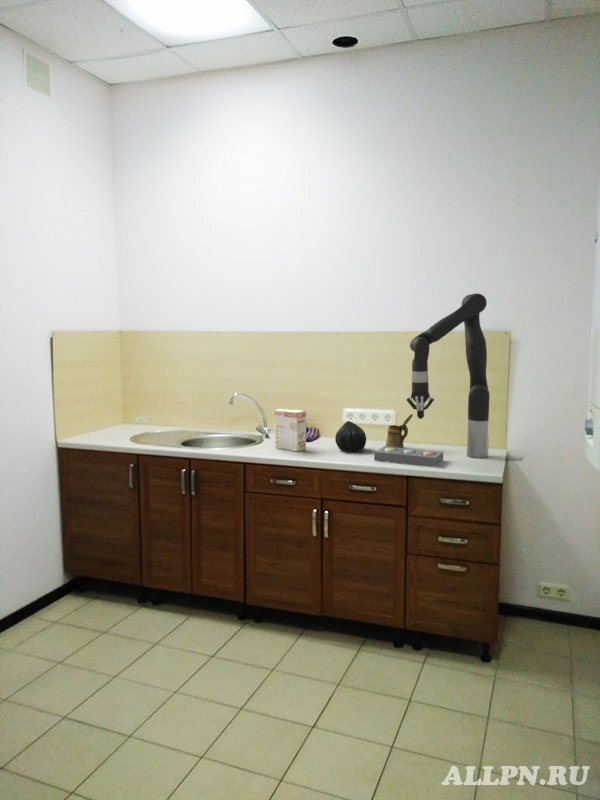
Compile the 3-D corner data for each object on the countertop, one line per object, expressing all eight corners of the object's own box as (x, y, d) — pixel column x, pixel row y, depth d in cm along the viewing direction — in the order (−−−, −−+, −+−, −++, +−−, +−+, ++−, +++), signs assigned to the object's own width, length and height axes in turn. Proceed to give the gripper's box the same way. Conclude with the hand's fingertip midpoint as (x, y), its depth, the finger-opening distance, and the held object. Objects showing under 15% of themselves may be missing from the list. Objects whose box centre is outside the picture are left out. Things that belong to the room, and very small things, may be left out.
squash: (364, 443, 290) (365, 417, 298) (333, 444, 292) (334, 417, 301) (366, 458, 301) (367, 432, 310) (336, 458, 304) (337, 432, 312)
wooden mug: (409, 451, 298) (409, 415, 296) (382, 449, 304) (383, 413, 302) (414, 448, 306) (415, 412, 303) (388, 445, 312) (389, 410, 310)
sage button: (396, 455, 284) (396, 448, 284) (393, 457, 280) (393, 450, 279) (386, 454, 286) (386, 447, 286) (383, 456, 282) (383, 449, 281)
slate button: (415, 457, 280) (415, 450, 280) (412, 459, 276) (412, 452, 275) (405, 456, 282) (405, 449, 282) (402, 458, 278) (402, 451, 277)
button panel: (443, 460, 279) (443, 451, 279) (435, 466, 267) (435, 457, 266) (384, 454, 292) (384, 446, 291) (374, 460, 279) (374, 451, 279)
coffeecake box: (306, 449, 302) (306, 410, 300) (296, 452, 297) (296, 412, 295) (284, 445, 312) (284, 407, 310) (274, 448, 307) (274, 409, 305)
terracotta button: (435, 459, 276) (435, 452, 276) (432, 461, 272) (432, 454, 271) (424, 458, 278) (424, 451, 278) (421, 460, 274) (421, 453, 273)
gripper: (436, 380, 281) (436, 417, 284) (408, 380, 287) (408, 416, 289) (432, 381, 275) (433, 420, 277) (403, 381, 280) (404, 419, 282)
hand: (420, 418), depth 283 cm, fingers closed
